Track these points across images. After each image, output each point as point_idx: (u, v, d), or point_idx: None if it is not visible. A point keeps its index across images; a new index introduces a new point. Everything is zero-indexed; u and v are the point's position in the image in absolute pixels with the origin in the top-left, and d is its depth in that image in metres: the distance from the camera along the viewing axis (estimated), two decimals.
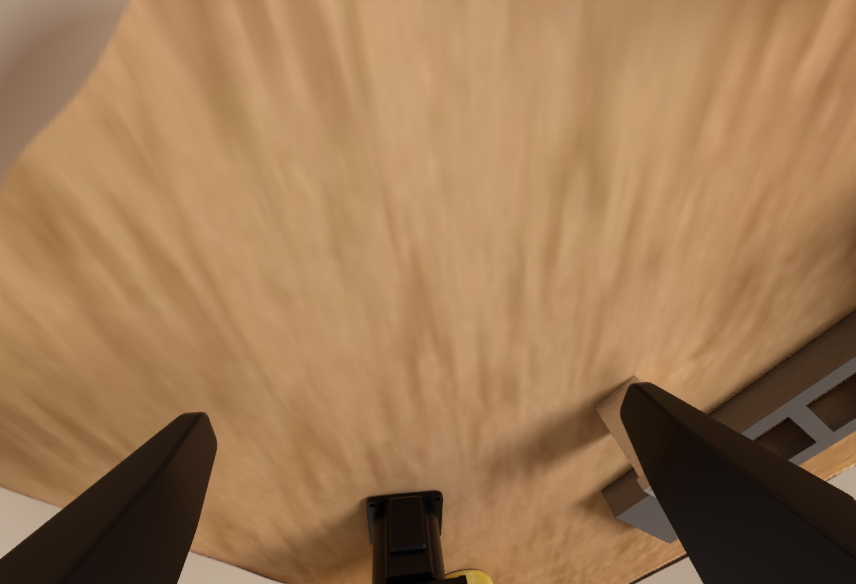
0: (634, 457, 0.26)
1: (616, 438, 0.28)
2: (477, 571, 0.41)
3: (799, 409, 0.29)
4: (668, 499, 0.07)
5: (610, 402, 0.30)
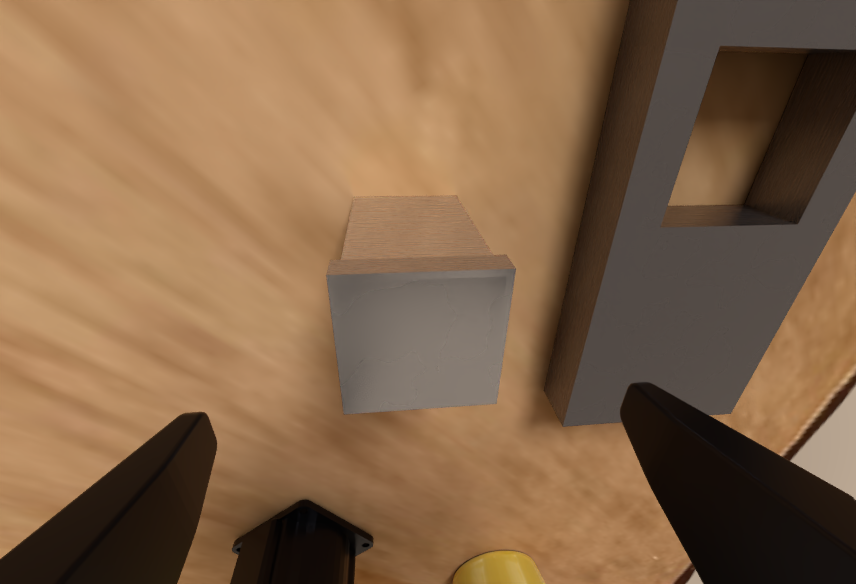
0: None
1: None
2: (490, 554, 0.29)
3: (732, 8, 0.11)
4: (668, 499, 0.07)
5: None
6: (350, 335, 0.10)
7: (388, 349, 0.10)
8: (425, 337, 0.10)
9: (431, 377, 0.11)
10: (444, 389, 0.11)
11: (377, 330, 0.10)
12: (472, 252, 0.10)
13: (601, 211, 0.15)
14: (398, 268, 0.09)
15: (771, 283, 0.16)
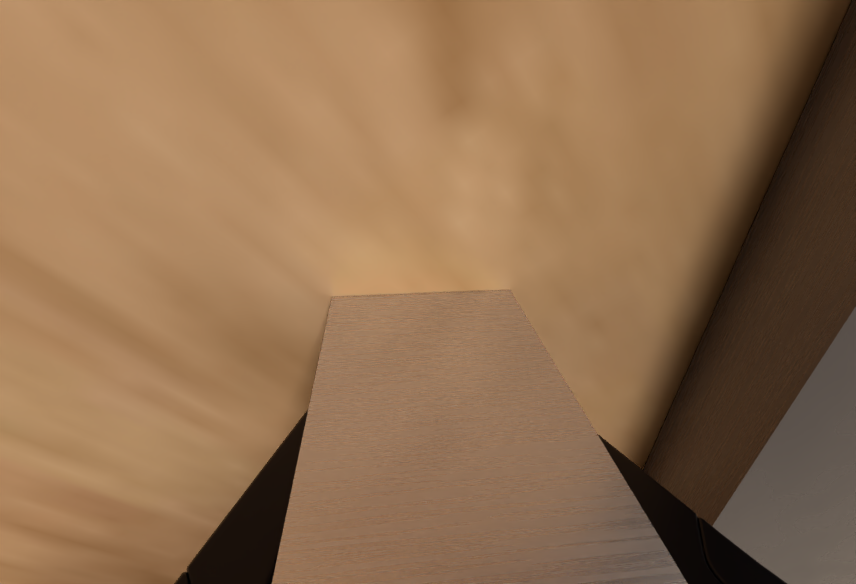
0: None
1: None
2: None
3: None
4: None
5: None
6: None
7: None
8: None
9: None
10: None
11: None
12: (619, 554, 0.04)
13: (768, 323, 0.08)
14: None
15: None
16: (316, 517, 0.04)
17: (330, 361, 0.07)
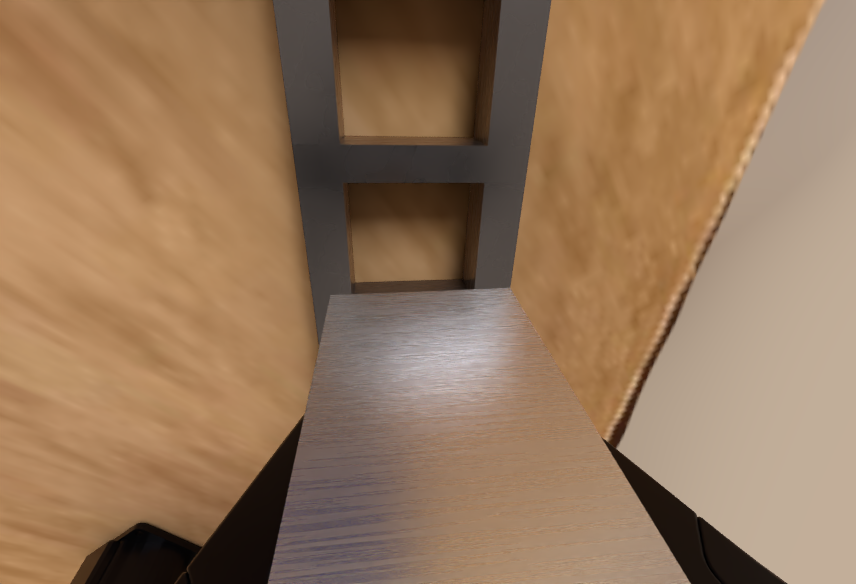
0: None
1: None
2: None
3: (340, 159, 0.15)
4: None
5: None
6: None
7: None
8: None
9: None
10: None
11: None
12: (621, 554, 0.04)
13: None
14: None
15: None
16: (313, 516, 0.04)
17: (328, 359, 0.07)
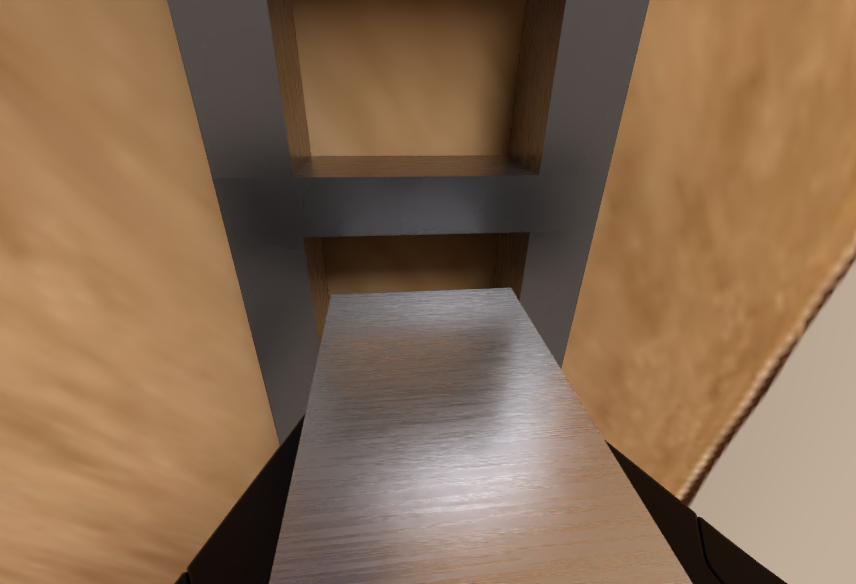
0: None
1: None
2: None
3: (296, 200, 0.09)
4: None
5: None
6: None
7: None
8: None
9: None
10: None
11: None
12: (622, 552, 0.04)
13: None
14: None
15: None
16: (314, 515, 0.04)
17: (329, 358, 0.07)
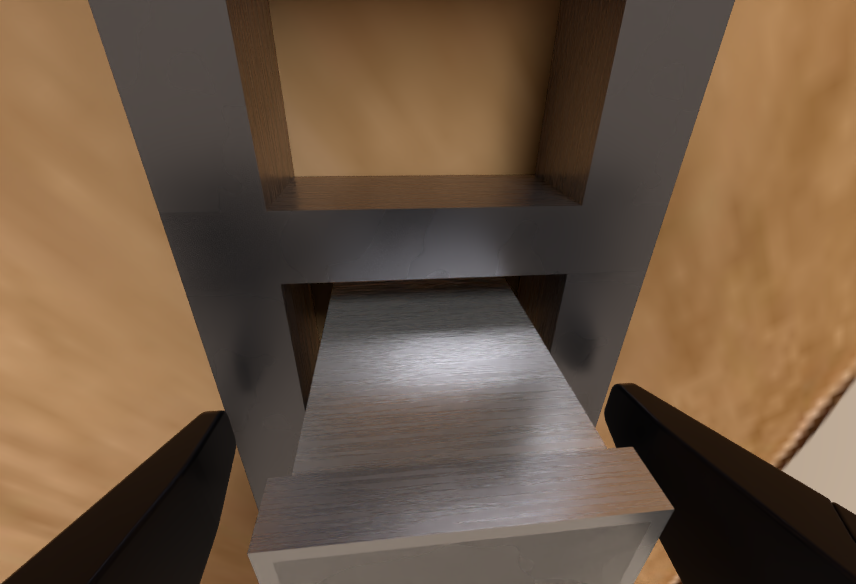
0: None
1: None
2: None
3: (271, 239, 0.07)
4: None
5: None
6: None
7: None
8: None
9: None
10: None
11: None
12: (554, 423, 0.05)
13: None
14: (415, 511, 0.04)
15: None
16: (331, 401, 0.06)
17: (338, 306, 0.08)
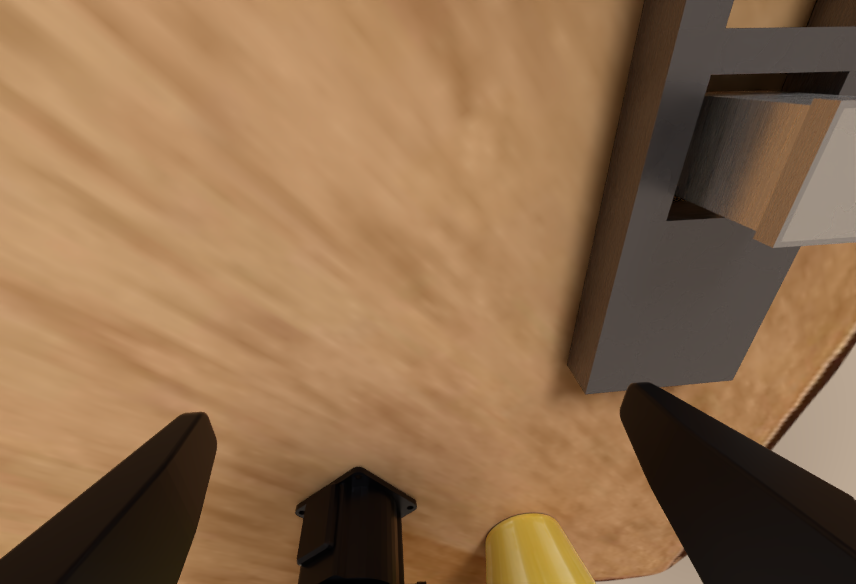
0: (735, 208, 0.14)
1: (698, 202, 0.16)
2: (518, 516, 0.32)
3: (719, 46, 0.14)
4: (668, 499, 0.07)
5: None
6: (824, 163, 0.12)
7: (843, 178, 0.12)
8: None
9: None
10: None
11: (846, 158, 0.12)
12: None
13: (616, 209, 0.18)
14: None
15: (763, 264, 0.19)
16: (786, 101, 0.13)
17: (720, 96, 0.15)
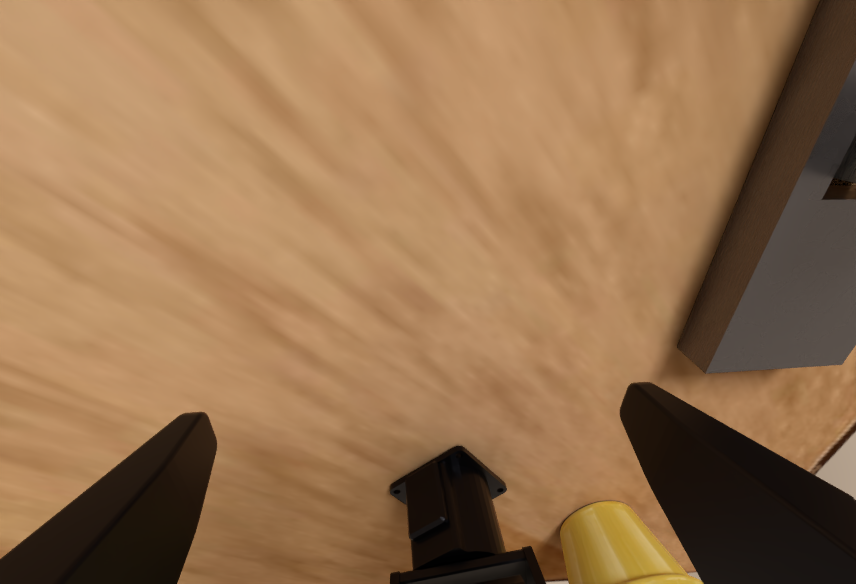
0: None
1: None
2: (598, 504, 0.32)
3: None
4: (668, 499, 0.07)
5: None
6: None
7: None
8: None
9: None
10: None
11: None
12: None
13: (768, 188, 0.18)
14: None
15: None
16: None
17: None
